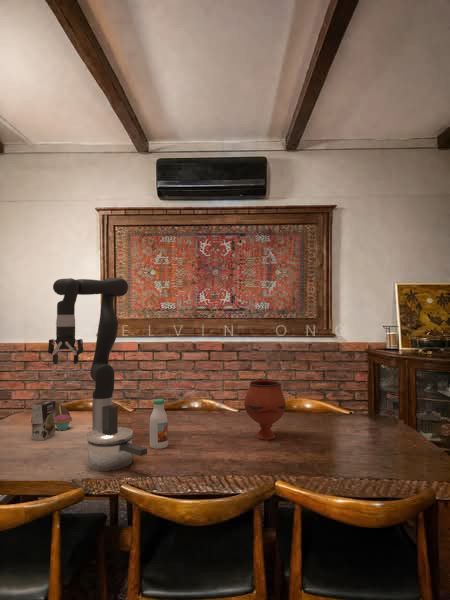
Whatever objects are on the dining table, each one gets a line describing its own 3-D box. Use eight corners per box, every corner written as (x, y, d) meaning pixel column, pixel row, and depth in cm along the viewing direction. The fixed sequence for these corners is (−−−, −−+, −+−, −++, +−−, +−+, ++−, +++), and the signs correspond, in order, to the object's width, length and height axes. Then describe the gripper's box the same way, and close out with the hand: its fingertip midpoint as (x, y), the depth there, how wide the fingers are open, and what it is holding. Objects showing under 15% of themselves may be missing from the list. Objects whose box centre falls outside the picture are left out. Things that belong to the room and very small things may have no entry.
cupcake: (49, 430, 206) (49, 406, 206) (60, 426, 214) (60, 402, 215) (65, 431, 204) (65, 407, 204) (75, 427, 212) (75, 403, 213)
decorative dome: (30, 427, 213) (30, 407, 213) (32, 418, 231) (32, 400, 231) (70, 423, 220) (71, 404, 221) (69, 415, 239) (69, 397, 239)
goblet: (256, 429, 206) (255, 377, 207) (292, 434, 196) (292, 381, 197) (237, 439, 190) (236, 383, 190) (276, 446, 180) (275, 387, 180)
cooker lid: (114, 428, 173) (114, 400, 173) (141, 435, 162) (141, 405, 163) (77, 438, 160) (77, 407, 160) (104, 446, 149) (104, 413, 149)
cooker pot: (114, 453, 172) (114, 428, 173) (161, 468, 155) (161, 440, 155) (78, 464, 159) (79, 438, 160) (125, 482, 142) (125, 452, 143)
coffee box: (43, 440, 190) (44, 404, 191) (31, 439, 191) (31, 404, 192) (55, 434, 199) (56, 400, 200) (43, 434, 200) (44, 400, 201)
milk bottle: (150, 450, 176) (150, 402, 176) (149, 444, 183) (148, 398, 184) (169, 448, 178) (168, 400, 178) (166, 443, 185) (166, 397, 186)
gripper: (85, 325, 181) (85, 362, 181) (53, 325, 182) (53, 362, 182) (78, 325, 174) (78, 365, 173) (45, 325, 175) (45, 365, 174)
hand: (65, 363), depth 178 cm, fingers open, 8 cm apart
